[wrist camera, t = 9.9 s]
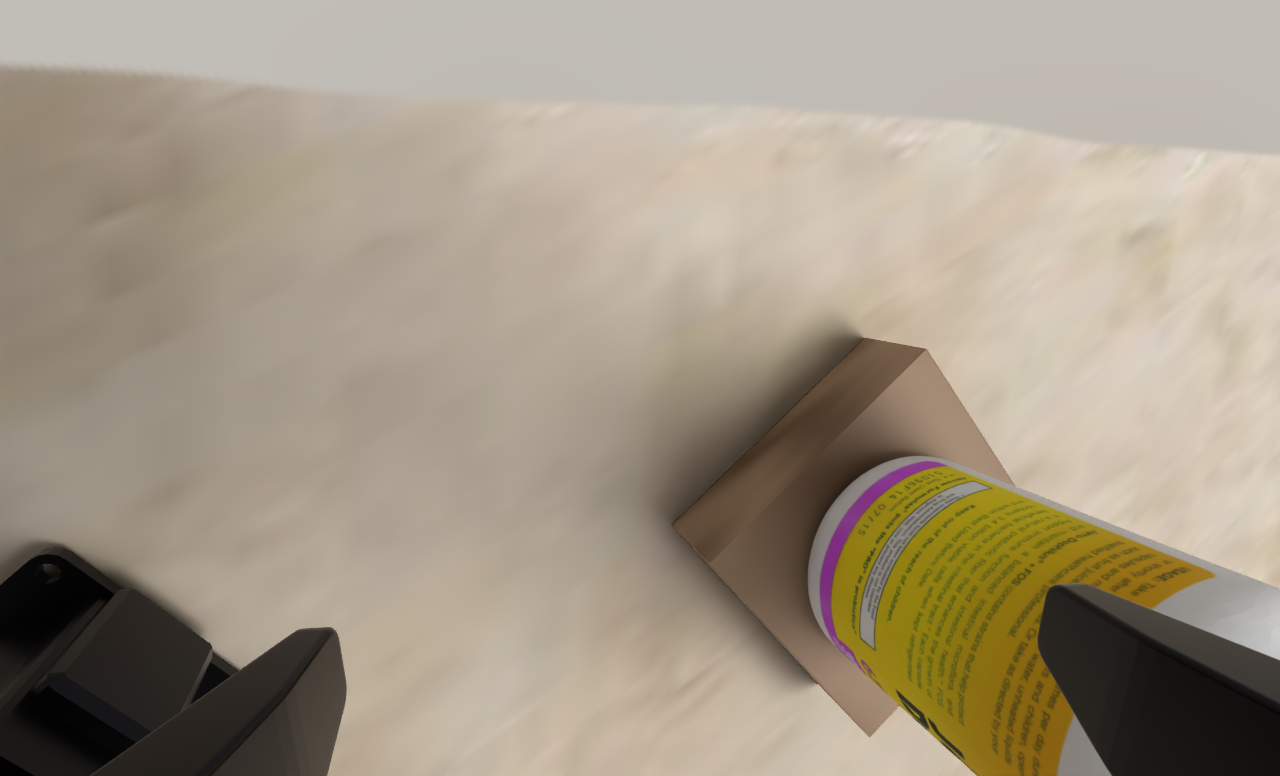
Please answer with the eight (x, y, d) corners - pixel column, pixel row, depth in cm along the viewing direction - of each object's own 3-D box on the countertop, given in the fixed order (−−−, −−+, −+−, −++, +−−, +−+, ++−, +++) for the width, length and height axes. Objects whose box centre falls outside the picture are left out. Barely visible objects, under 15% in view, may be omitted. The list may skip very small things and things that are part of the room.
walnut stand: (819, 684, 26) (869, 737, 23) (671, 525, 23) (709, 563, 20) (984, 512, 27) (1052, 543, 24) (864, 338, 24) (926, 349, 21)
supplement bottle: (764, 628, 21) (1252, 1140, 9) (851, 421, 20) (1484, 662, 8) (928, 670, 23) (1489, 1118, 11) (1009, 485, 23) (1677, 744, 11)
